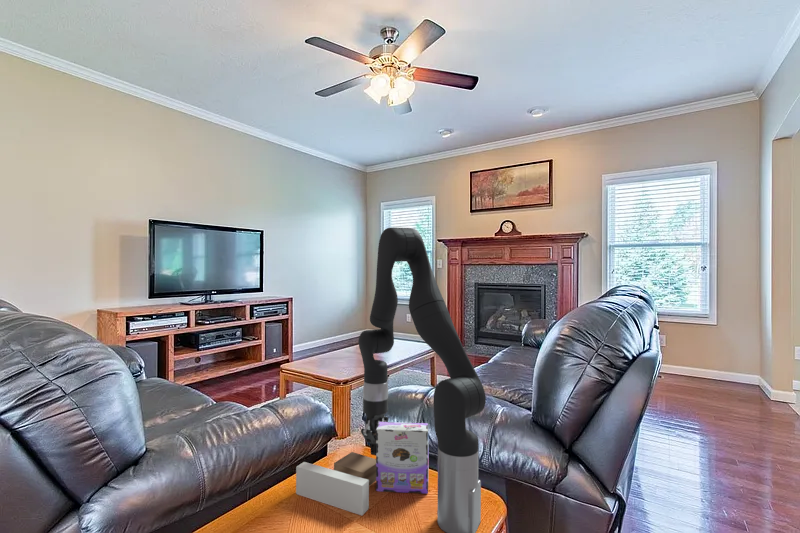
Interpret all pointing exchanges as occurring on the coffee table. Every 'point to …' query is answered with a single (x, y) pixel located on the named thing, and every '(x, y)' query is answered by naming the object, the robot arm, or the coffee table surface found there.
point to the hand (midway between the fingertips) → (374, 453)
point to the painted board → (333, 487)
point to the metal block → (357, 466)
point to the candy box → (402, 457)
